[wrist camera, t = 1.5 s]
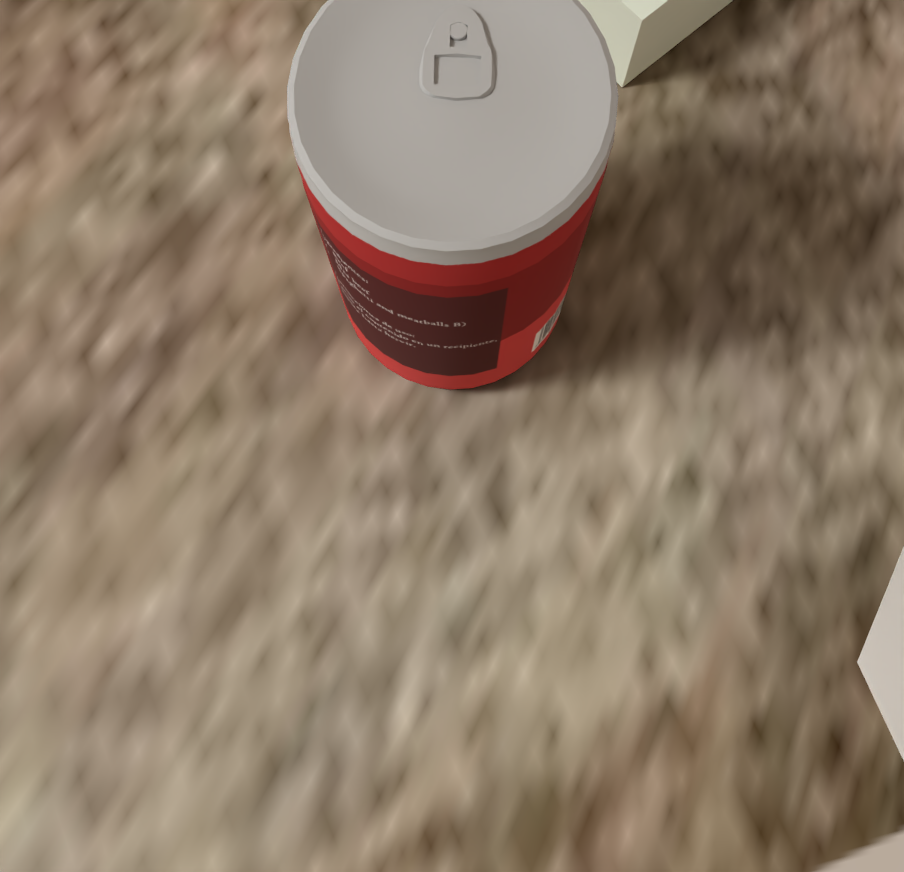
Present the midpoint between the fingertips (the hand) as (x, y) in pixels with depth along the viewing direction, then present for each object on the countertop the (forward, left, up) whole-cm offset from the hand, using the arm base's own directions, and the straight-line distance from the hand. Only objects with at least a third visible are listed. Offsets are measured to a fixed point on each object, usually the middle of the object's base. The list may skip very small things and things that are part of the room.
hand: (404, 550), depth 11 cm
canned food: (-8, +8, -16) cm, 20 cm away
